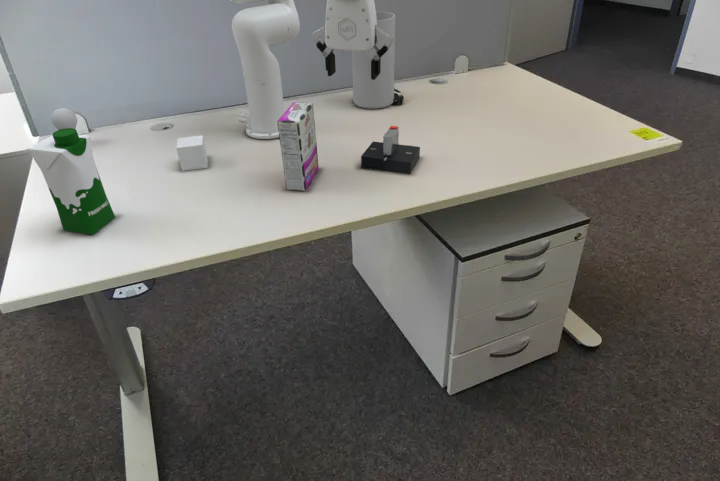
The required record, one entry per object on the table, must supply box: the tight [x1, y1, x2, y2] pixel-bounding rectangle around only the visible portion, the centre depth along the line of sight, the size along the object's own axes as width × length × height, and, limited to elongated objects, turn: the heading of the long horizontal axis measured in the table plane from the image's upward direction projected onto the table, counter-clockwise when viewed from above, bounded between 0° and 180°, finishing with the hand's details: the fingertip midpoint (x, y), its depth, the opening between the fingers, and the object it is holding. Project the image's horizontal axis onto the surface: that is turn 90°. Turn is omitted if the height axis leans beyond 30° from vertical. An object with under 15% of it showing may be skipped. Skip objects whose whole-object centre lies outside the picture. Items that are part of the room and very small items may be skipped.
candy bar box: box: [277, 101, 320, 192], centre depth 115 cm, size 11×5×16 cm, turn 168°
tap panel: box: [360, 141, 421, 175], centre depth 125 cm, size 12×10×3 cm
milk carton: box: [26, 128, 116, 236], centre depth 101 cm, size 9×9×20 cm
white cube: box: [175, 134, 208, 172], centre depth 126 cm, size 6×6×6 cm
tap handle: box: [382, 125, 400, 157], centre depth 123 cm, size 6×2×5 cm, turn 161°
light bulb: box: [50, 107, 78, 131], centre depth 137 cm, size 6×6×10 cm
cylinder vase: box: [351, 11, 396, 110], centre depth 154 cm, size 12×12×25 cm
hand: (353, 76), depth 111 cm, fingers open, 9 cm apart
